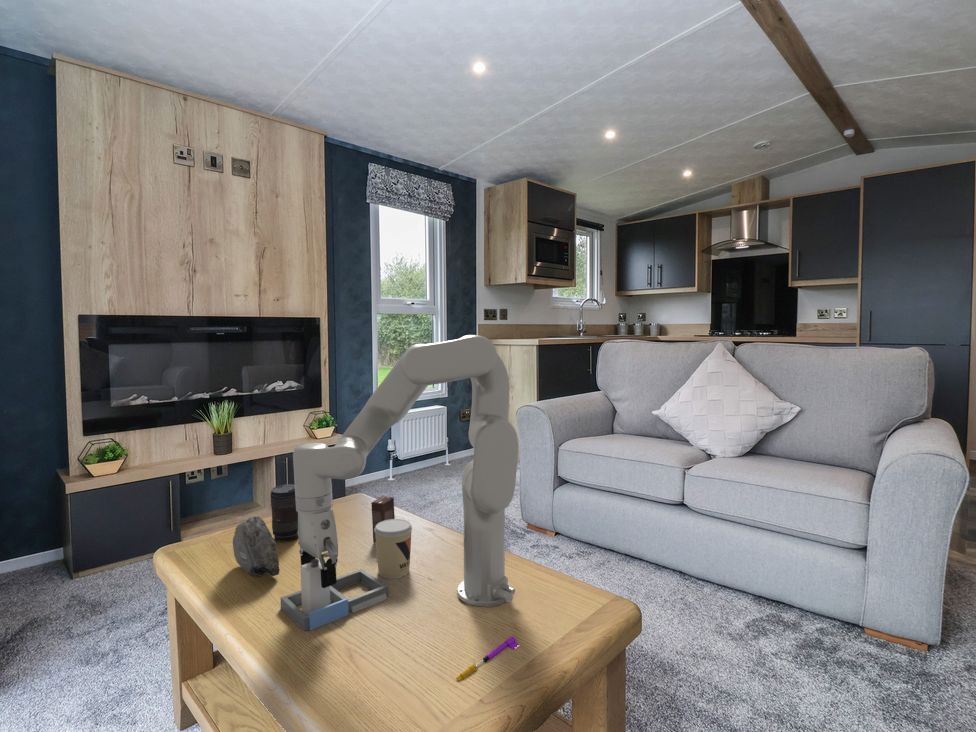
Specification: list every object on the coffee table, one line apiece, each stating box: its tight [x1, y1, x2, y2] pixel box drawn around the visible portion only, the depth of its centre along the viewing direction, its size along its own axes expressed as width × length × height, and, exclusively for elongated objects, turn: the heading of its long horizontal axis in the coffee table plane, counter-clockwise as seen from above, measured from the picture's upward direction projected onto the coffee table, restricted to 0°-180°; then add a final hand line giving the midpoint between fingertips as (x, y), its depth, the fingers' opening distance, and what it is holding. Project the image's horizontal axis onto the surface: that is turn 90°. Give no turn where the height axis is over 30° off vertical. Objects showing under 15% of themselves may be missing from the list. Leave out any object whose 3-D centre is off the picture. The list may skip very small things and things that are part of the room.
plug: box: [300, 558, 331, 615], centre depth 114 cm, size 4×4×11 cm
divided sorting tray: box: [280, 568, 390, 632], centre depth 117 cm, size 13×20×4 cm, turn 133°
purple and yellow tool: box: [455, 635, 519, 682], centre depth 97 cm, size 3×1×16 cm
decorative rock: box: [232, 515, 280, 577], centre depth 131 cm, size 16×7×15 cm, turn 44°
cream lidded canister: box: [374, 518, 413, 579], centre depth 132 cm, size 9×9×12 cm
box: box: [370, 495, 396, 544], centre depth 152 cm, size 6×4×12 cm
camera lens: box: [270, 483, 299, 543], centre depth 154 cm, size 8×8×15 cm
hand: (318, 578), depth 114 cm, fingers open, 9 cm apart
